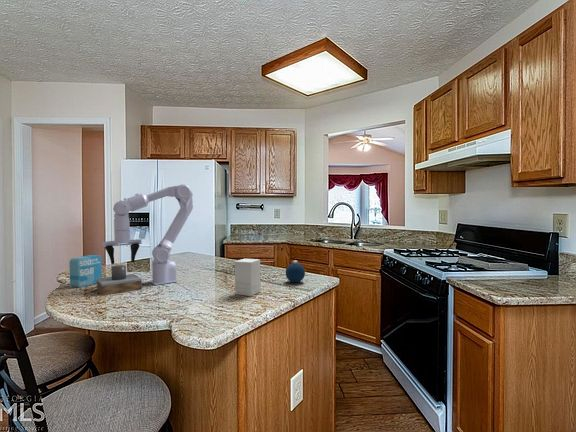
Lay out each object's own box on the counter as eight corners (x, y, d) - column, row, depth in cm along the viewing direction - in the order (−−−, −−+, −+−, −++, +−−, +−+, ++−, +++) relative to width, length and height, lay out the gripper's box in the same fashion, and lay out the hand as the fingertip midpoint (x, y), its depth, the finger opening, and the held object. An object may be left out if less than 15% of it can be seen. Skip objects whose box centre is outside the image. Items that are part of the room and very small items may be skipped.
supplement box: (261, 291, 130) (261, 259, 130) (251, 296, 124) (251, 262, 123) (245, 289, 133) (244, 258, 133) (234, 294, 127) (234, 260, 126)
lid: (133, 275, 144) (133, 273, 144) (141, 280, 135) (141, 278, 135) (96, 280, 136) (96, 278, 136) (102, 286, 126) (102, 284, 126)
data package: (78, 288, 138) (77, 259, 137) (69, 287, 139) (68, 258, 139) (102, 281, 149) (101, 254, 149) (94, 281, 150) (93, 254, 150)
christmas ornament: (294, 279, 151) (294, 257, 151) (309, 282, 146) (309, 259, 145) (281, 282, 145) (281, 259, 145) (295, 285, 140) (295, 261, 139)
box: (133, 283, 144) (133, 276, 144) (141, 289, 135) (141, 280, 135) (96, 289, 136) (96, 280, 136) (102, 295, 126) (102, 286, 126)
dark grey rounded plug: (124, 276, 139) (124, 264, 139) (127, 278, 135) (127, 266, 135) (110, 278, 136) (110, 266, 135) (113, 280, 132) (113, 268, 131)
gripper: (104, 231, 131) (105, 266, 132) (143, 229, 141) (144, 262, 141) (100, 230, 137) (101, 263, 137) (138, 228, 146) (139, 259, 147)
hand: (122, 262), depth 140 cm, fingers open, 7 cm apart
